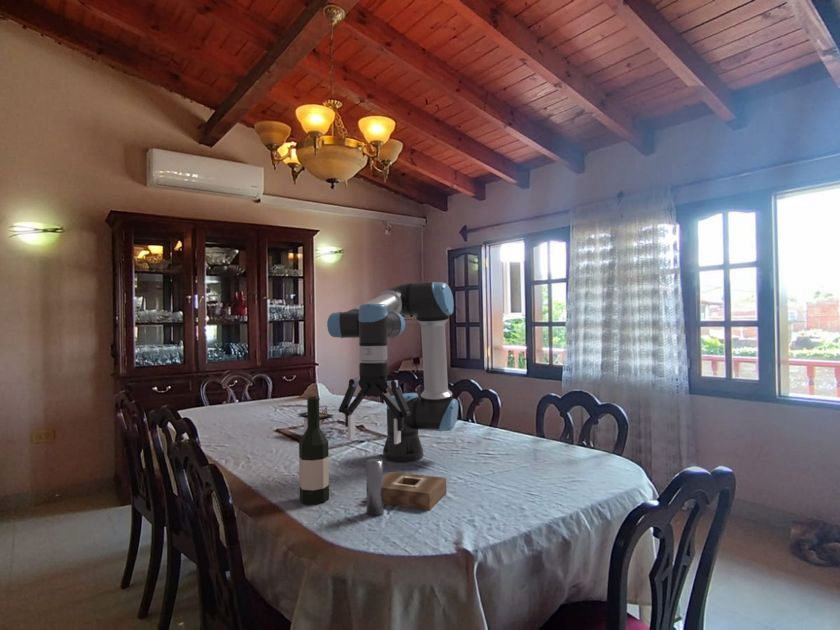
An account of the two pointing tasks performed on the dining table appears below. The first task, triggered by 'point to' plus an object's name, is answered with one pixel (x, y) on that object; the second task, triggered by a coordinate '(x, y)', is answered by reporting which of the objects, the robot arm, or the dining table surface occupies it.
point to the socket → (413, 490)
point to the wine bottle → (313, 459)
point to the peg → (374, 487)
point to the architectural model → (321, 418)
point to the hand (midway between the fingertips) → (374, 441)
